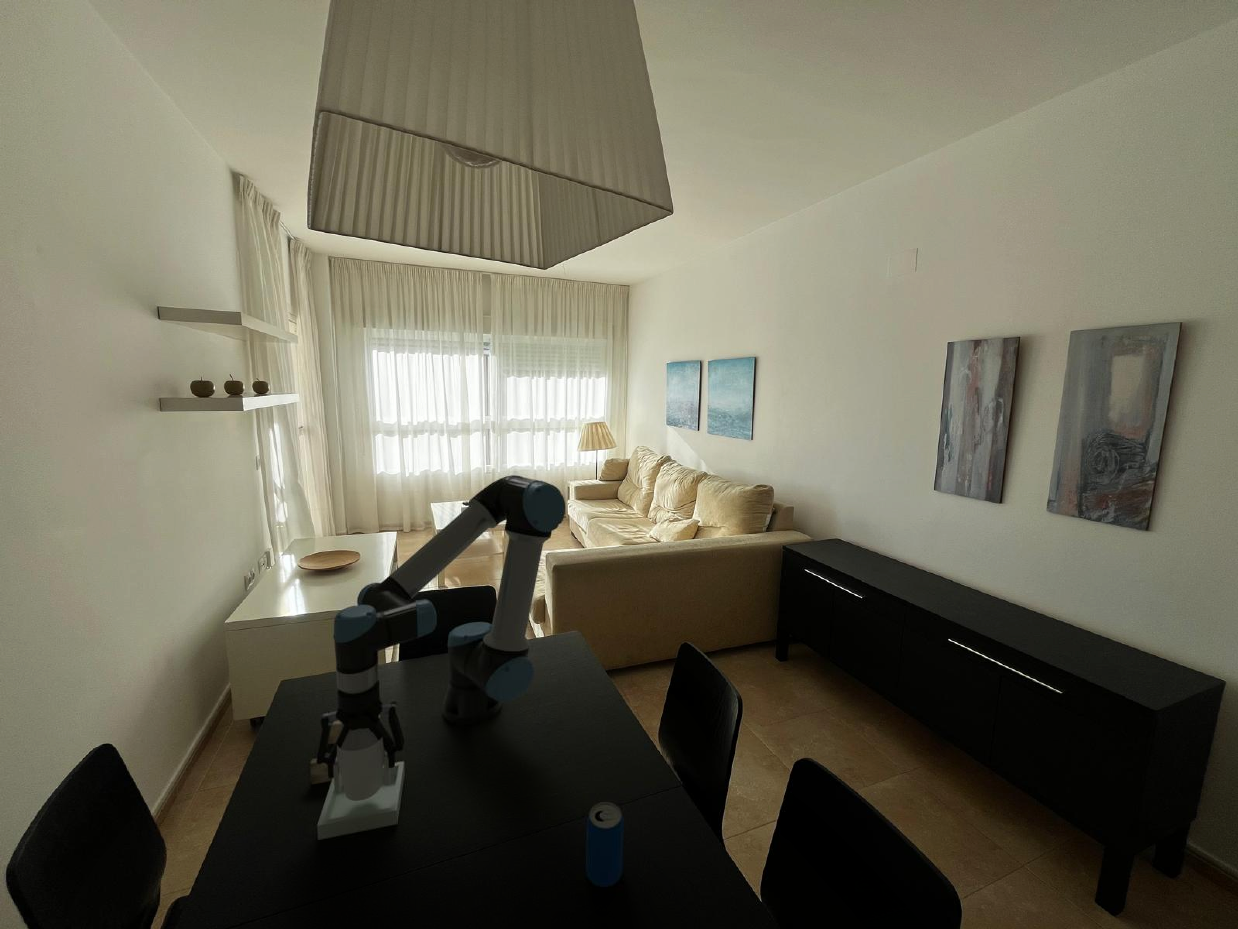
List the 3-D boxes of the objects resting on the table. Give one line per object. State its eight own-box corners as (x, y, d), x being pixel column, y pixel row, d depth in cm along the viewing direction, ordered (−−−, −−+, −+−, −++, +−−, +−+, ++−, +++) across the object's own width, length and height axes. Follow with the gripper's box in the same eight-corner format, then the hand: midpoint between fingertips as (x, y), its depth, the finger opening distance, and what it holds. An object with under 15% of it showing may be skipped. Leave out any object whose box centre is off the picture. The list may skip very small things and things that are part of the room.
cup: (368, 810, 102) (365, 755, 100) (328, 802, 104) (325, 747, 102) (396, 777, 111) (394, 725, 109) (359, 770, 112) (356, 719, 111)
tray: (404, 773, 116) (404, 761, 116) (397, 824, 103) (396, 810, 103) (335, 786, 112) (334, 773, 112) (318, 840, 99) (317, 825, 99)
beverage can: (585, 858, 97) (586, 801, 95) (620, 856, 97) (621, 799, 95) (586, 891, 90) (587, 830, 88) (623, 889, 91) (625, 829, 89)
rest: (381, 732, 130) (380, 714, 129) (371, 774, 116) (370, 753, 115) (327, 741, 126) (326, 722, 125) (311, 784, 113) (310, 763, 112)
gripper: (417, 667, 110) (420, 763, 114) (303, 680, 104) (310, 782, 107) (413, 686, 103) (417, 788, 106) (291, 702, 97) (299, 810, 100)
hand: (363, 785), depth 107 cm, fingers closed on cup, 9 cm apart
